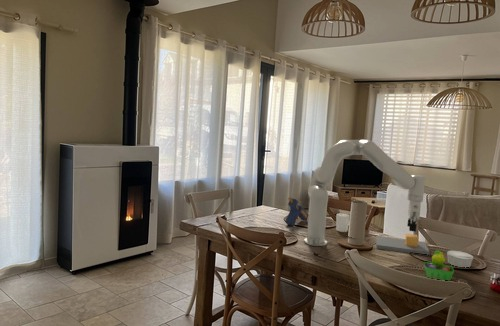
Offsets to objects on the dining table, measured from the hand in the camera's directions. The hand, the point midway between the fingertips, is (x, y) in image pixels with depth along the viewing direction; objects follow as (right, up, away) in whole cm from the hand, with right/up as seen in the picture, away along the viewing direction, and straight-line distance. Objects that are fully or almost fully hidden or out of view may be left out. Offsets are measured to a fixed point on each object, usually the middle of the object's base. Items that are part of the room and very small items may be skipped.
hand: (411, 228), depth 202 cm
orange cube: (0, -9, +1) cm, 9 cm away
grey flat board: (-5, -10, +3) cm, 12 cm away
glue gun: (-57, -4, +42) cm, 71 cm away
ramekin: (+14, -14, -21) cm, 29 cm away
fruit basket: (-5, -15, -38) cm, 41 cm away
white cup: (-31, -7, +30) cm, 43 cm away
